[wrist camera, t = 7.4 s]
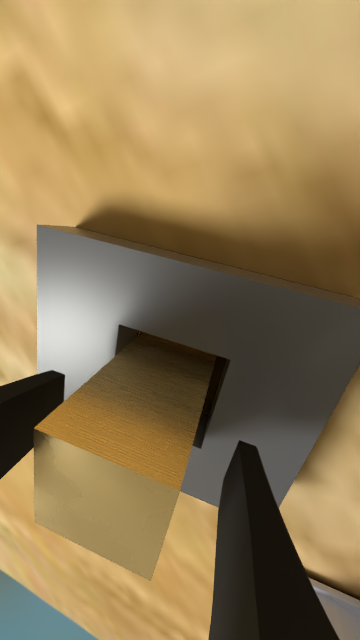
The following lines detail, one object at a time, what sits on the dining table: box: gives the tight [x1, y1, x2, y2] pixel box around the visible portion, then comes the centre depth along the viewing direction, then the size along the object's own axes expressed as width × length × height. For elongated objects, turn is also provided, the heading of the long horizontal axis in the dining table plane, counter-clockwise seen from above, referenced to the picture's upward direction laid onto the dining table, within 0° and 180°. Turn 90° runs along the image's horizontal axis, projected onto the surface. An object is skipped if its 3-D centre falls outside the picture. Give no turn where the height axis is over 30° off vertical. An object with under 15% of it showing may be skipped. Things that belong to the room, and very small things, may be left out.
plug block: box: [34, 332, 217, 581], centre depth 10 cm, size 4×4×8 cm
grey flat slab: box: [37, 225, 360, 508], centre depth 13 cm, size 14×12×2 cm
